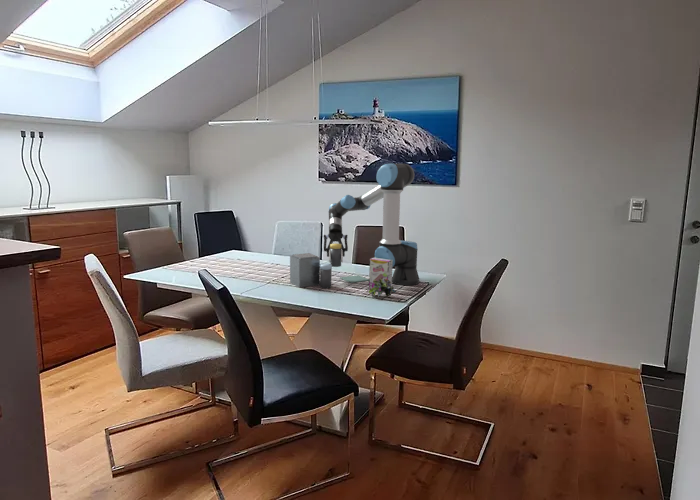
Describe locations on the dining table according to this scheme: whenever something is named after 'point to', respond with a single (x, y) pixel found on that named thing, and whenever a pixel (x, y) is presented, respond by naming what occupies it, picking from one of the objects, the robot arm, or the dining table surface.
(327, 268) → the blue
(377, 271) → the candy bar box
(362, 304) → the dining table surface
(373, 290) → the passion flower
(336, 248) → the cylinder
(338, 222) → the robot arm
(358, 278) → the mat
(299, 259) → the box
